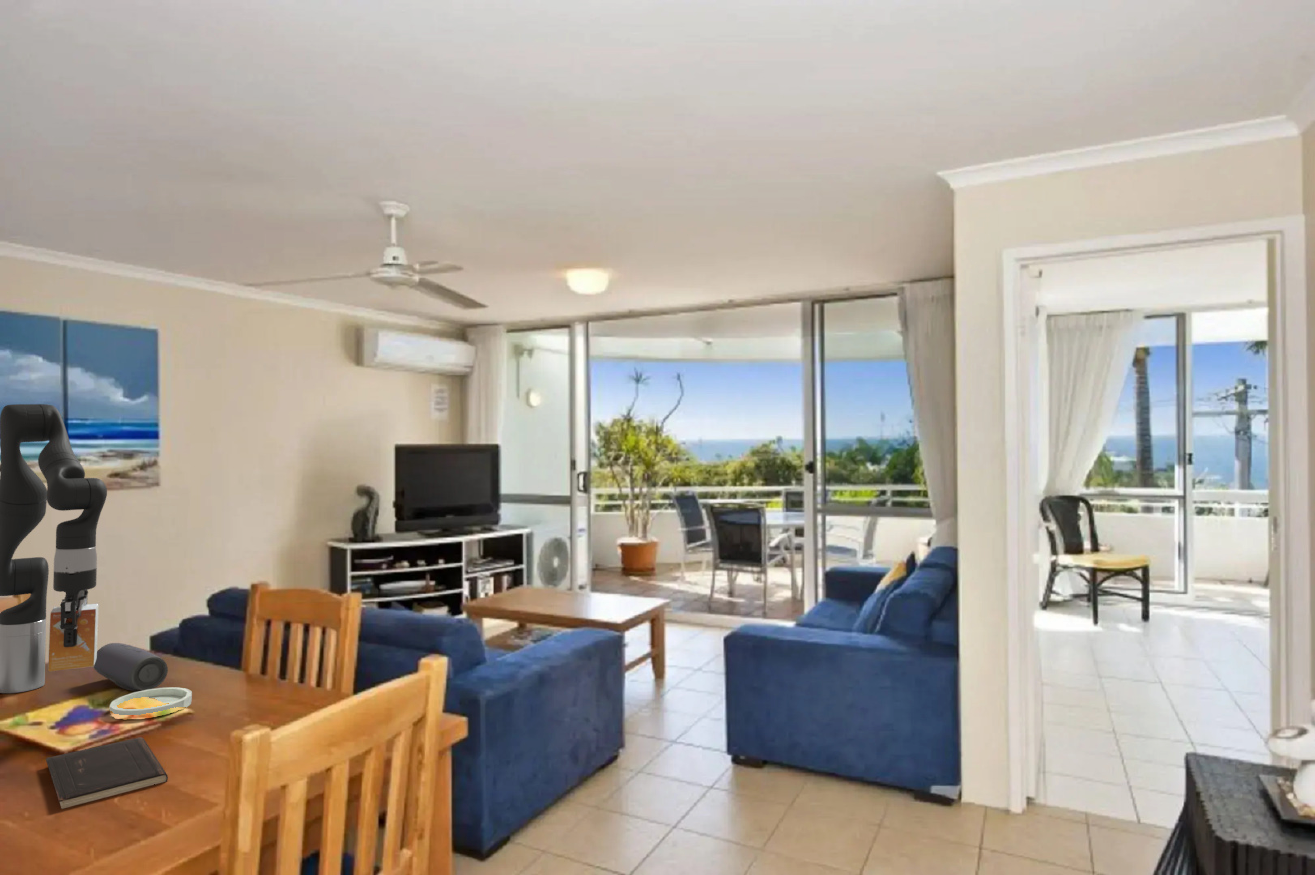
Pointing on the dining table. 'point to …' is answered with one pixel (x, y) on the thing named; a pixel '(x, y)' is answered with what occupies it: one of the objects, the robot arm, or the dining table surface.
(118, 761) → the hardcover book
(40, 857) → the dining table surface
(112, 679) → the bluetooth speaker
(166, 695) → the round tray
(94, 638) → the small box
